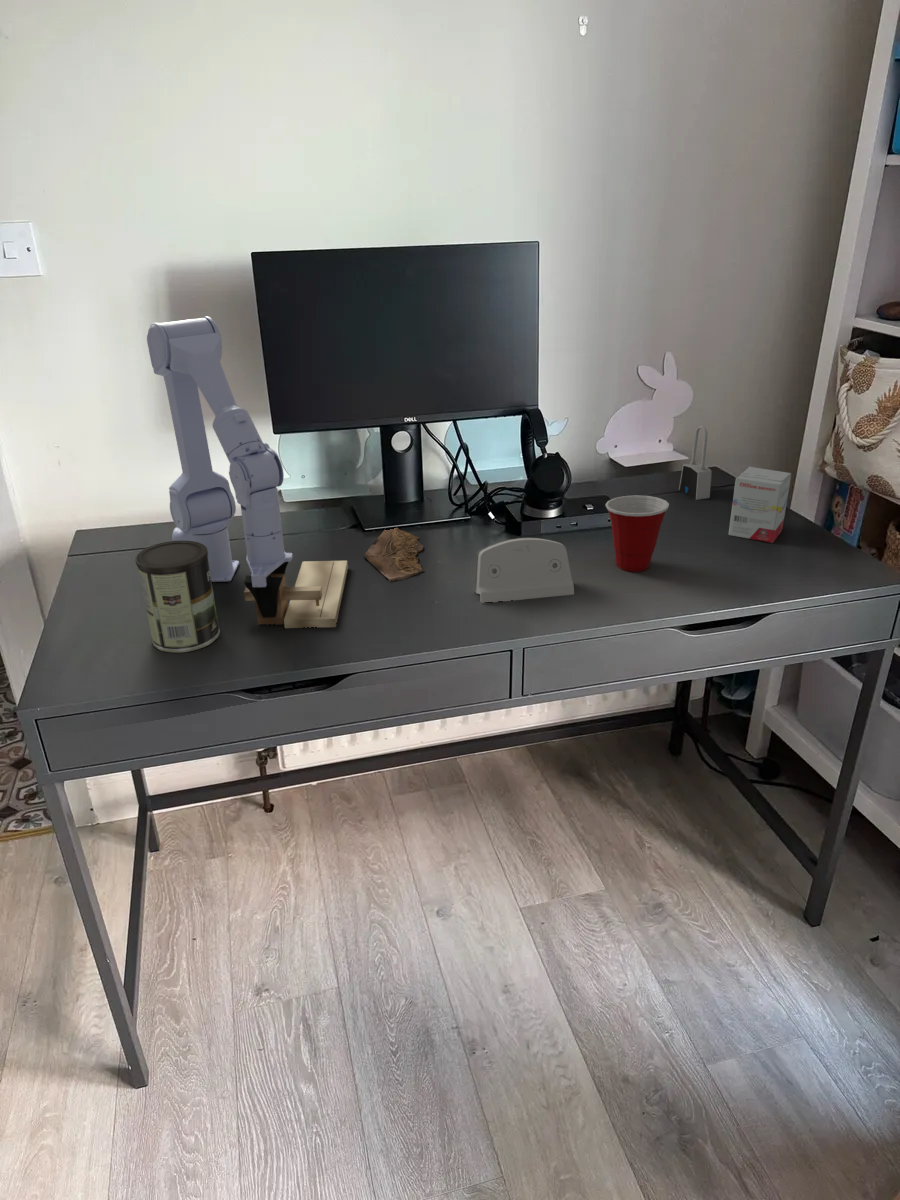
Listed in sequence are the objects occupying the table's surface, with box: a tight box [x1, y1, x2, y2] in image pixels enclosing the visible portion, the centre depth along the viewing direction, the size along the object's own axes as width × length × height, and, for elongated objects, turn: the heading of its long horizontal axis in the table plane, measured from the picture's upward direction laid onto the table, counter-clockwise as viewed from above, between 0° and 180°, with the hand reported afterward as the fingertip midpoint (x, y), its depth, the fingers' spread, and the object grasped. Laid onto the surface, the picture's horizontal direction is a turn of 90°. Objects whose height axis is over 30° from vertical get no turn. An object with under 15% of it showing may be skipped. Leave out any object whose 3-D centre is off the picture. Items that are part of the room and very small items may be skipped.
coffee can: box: [134, 540, 221, 654], centre depth 131 cm, size 10×10×14 cm
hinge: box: [473, 537, 575, 604], centre depth 145 cm, size 17×5×10 cm, turn 101°
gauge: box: [243, 574, 322, 626], centre depth 138 cm, size 12×5×7 cm, turn 91°
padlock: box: [678, 425, 713, 501], centre depth 184 cm, size 7×4×15 cm, turn 20°
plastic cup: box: [604, 494, 670, 573], centre depth 153 cm, size 11×11×12 cm
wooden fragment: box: [363, 527, 424, 583], centre depth 162 cm, size 26×11×1 cm, turn 2°
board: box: [283, 560, 349, 629], centre depth 145 cm, size 8×22×2 cm, turn 1°
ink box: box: [728, 466, 792, 544], centre depth 165 cm, size 9×9×12 cm
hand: (272, 608), depth 139 cm, fingers closed on gauge, 5 cm apart
